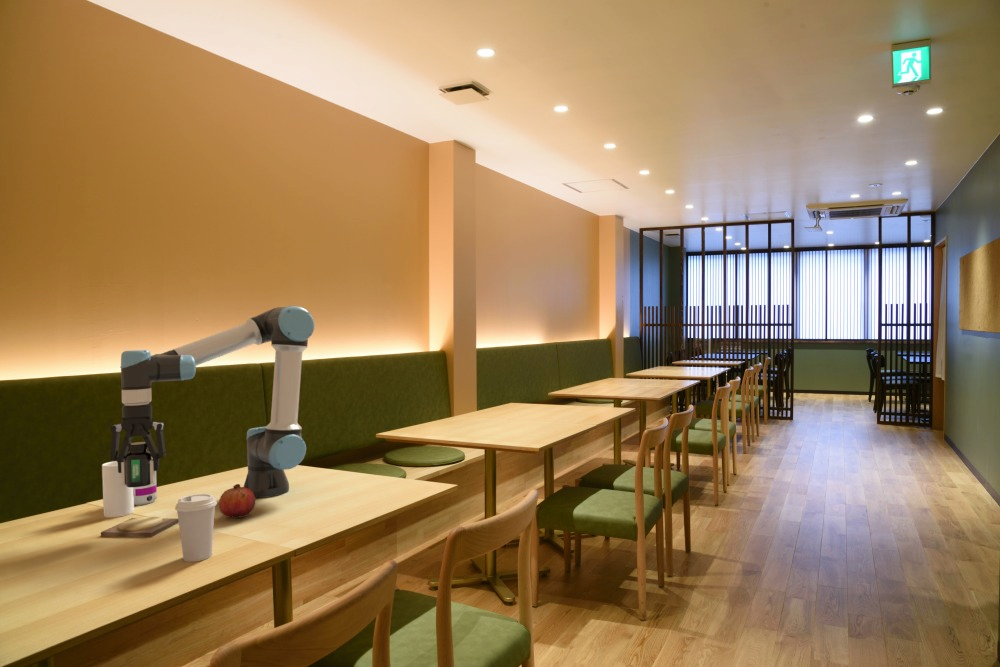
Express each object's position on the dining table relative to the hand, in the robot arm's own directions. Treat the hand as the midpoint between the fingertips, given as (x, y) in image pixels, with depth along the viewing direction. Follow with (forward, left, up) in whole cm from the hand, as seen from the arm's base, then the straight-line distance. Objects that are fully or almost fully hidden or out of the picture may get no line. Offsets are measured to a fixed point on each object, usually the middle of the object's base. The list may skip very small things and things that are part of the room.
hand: (139, 482), depth 185 cm
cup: (+18, -15, -14) cm, 27 cm away
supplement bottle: (0, 0, -1) cm, 1 cm away
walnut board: (0, 0, -14) cm, 14 cm away
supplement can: (+19, -28, -14) cm, 37 cm away
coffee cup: (-30, +21, -14) cm, 39 cm away
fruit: (-23, -12, -14) cm, 29 cm away
